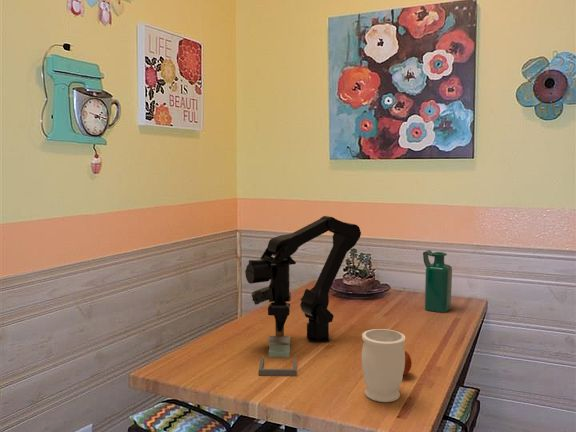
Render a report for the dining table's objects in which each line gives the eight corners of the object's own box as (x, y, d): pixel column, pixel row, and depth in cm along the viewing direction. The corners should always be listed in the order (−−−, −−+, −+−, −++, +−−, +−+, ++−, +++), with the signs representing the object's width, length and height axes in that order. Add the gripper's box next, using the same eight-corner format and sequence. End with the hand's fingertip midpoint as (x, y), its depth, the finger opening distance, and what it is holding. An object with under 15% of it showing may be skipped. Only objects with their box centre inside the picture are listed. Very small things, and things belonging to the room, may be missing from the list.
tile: (289, 351, 160) (289, 344, 160) (289, 358, 154) (289, 352, 154) (270, 351, 160) (270, 344, 160) (268, 358, 154) (268, 351, 154)
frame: (296, 362, 150) (296, 357, 150) (296, 375, 141) (296, 370, 141) (260, 362, 150) (260, 356, 150) (258, 375, 141) (258, 370, 141)
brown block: (290, 342, 164) (290, 314, 163) (290, 347, 160) (290, 318, 159) (269, 342, 164) (269, 314, 163) (268, 347, 160) (268, 318, 159)
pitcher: (451, 308, 204) (454, 251, 201) (445, 313, 196) (447, 255, 194) (426, 304, 209) (428, 249, 206) (419, 309, 202) (421, 252, 199)
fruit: (379, 372, 143) (380, 343, 142) (401, 368, 146) (401, 340, 145) (394, 382, 137) (395, 352, 136) (416, 378, 140) (417, 348, 139)
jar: (356, 386, 135) (357, 328, 133) (396, 385, 135) (398, 327, 134) (366, 406, 124) (367, 343, 122) (409, 404, 125) (411, 342, 123)
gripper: (256, 272, 170) (256, 320, 172) (250, 286, 151) (250, 340, 153) (290, 272, 170) (290, 320, 171) (289, 287, 151) (289, 340, 153)
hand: (279, 329), depth 162 cm, fingers closed on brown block, 2 cm apart
